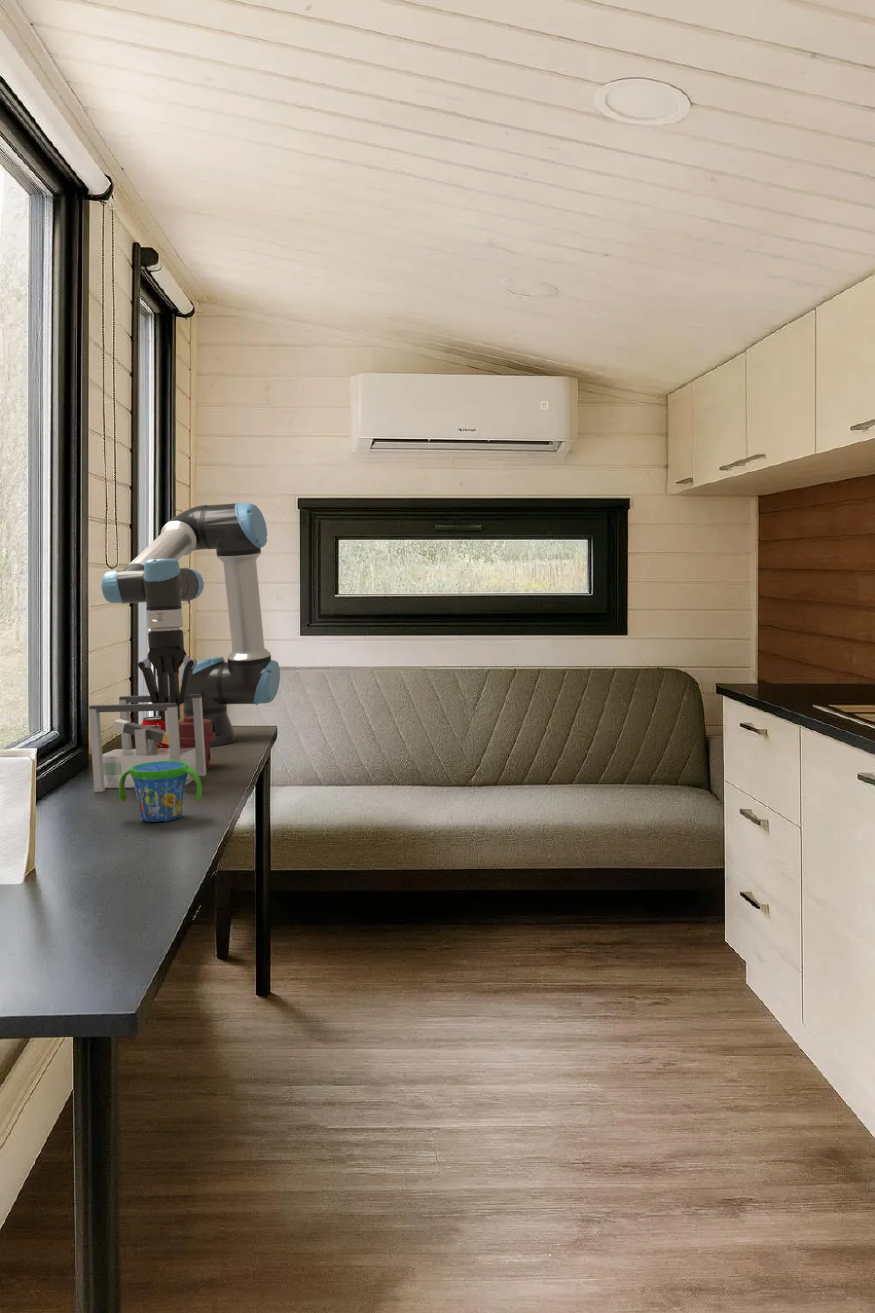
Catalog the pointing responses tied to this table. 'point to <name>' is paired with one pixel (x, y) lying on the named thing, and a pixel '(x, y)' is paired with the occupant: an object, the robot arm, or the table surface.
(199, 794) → the snack cup
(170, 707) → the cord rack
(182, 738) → the mechanical component
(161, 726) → the soda can
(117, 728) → the lever
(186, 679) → the robot arm
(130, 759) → the grey box
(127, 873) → the table surface
